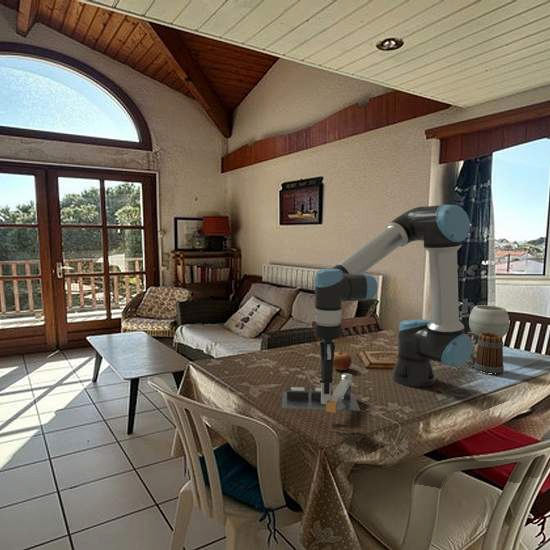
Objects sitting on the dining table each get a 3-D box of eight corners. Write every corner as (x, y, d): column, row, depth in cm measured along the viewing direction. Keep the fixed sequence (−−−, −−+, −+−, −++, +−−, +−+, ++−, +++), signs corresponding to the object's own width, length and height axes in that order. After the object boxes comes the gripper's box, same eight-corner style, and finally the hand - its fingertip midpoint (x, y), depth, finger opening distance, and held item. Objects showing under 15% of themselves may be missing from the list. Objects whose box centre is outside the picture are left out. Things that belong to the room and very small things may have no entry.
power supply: (331, 394, 133) (331, 386, 132) (333, 400, 128) (333, 392, 127) (310, 393, 133) (311, 386, 133) (311, 399, 128) (311, 392, 128)
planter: (513, 357, 178) (517, 308, 176) (495, 363, 169) (499, 312, 167) (478, 348, 192) (481, 303, 189) (459, 354, 183) (462, 306, 180)
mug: (506, 370, 161) (509, 334, 159) (499, 377, 153) (502, 339, 151) (465, 362, 171) (467, 328, 170) (457, 368, 164) (459, 332, 162)
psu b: (307, 393, 133) (308, 386, 133) (308, 399, 128) (308, 392, 128) (287, 392, 133) (287, 385, 133) (286, 399, 128) (287, 391, 128)
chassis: (353, 396, 133) (354, 382, 133) (360, 414, 120) (360, 397, 120) (282, 394, 134) (282, 380, 134) (281, 412, 122) (281, 395, 121)
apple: (336, 364, 166) (337, 346, 165) (354, 368, 162) (354, 349, 161) (327, 370, 160) (328, 350, 159) (345, 374, 155) (346, 354, 154)
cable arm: (342, 381, 132) (342, 372, 131) (353, 383, 130) (353, 374, 130) (324, 412, 109) (324, 401, 109) (337, 414, 108) (337, 403, 107)
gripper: (313, 318, 119) (311, 393, 121) (316, 328, 106) (314, 412, 108) (338, 318, 119) (336, 394, 121) (344, 329, 106) (341, 413, 108)
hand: (325, 402), depth 115 cm, fingers closed
